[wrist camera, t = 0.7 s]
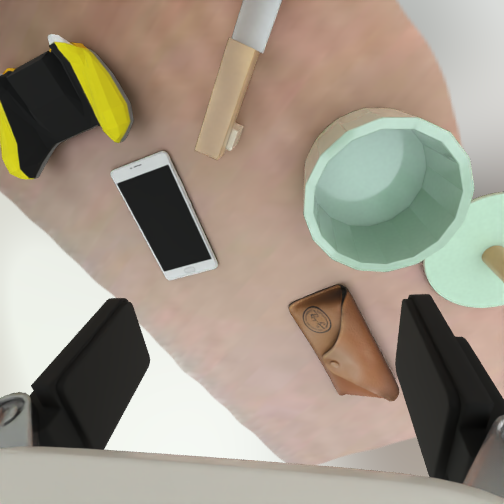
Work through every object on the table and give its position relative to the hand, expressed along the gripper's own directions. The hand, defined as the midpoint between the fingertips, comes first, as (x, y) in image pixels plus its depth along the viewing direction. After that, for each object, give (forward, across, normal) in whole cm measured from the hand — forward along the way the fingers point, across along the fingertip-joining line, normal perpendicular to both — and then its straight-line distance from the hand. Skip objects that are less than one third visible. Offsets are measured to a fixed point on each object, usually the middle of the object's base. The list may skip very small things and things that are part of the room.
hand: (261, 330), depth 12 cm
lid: (+26, -21, +11) cm, 35 cm away
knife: (+23, +3, -10) cm, 25 cm away
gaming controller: (+27, +22, -8) cm, 36 cm away
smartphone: (+26, +15, +6) cm, 31 cm away
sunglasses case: (+27, -6, +24) cm, 37 cm away
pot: (+26, -8, +2) cm, 28 cm away
